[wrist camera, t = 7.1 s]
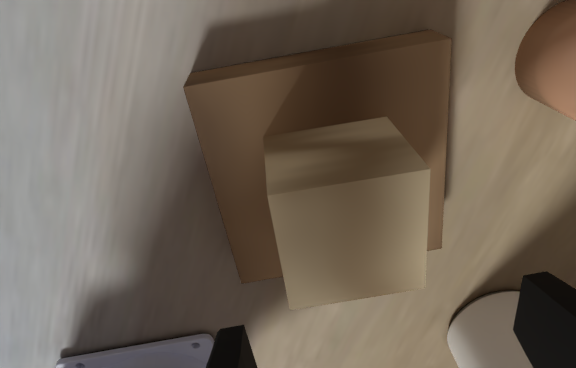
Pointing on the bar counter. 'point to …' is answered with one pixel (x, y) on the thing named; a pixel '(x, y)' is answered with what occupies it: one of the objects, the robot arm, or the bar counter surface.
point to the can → (487, 333)
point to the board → (315, 123)
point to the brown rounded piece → (550, 59)
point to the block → (347, 211)
